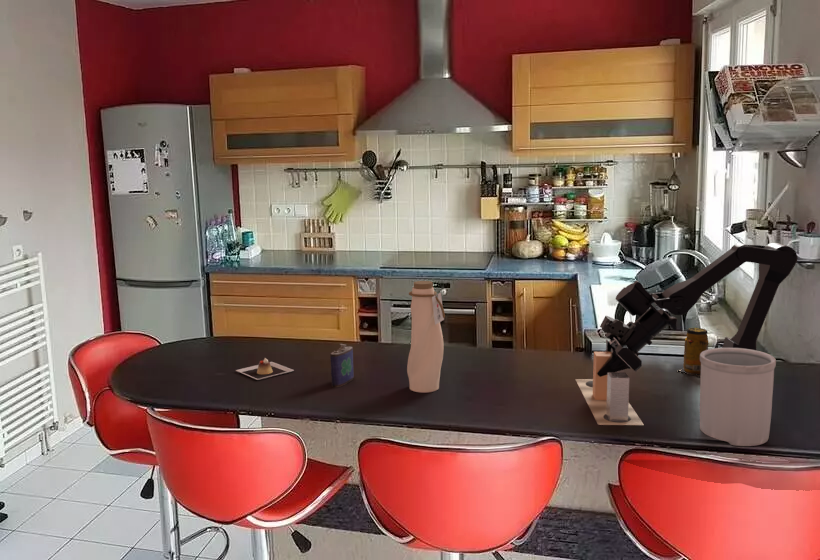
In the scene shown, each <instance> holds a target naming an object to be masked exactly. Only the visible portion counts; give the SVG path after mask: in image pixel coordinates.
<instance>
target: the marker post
mask: <svg viewBox="0 0 820 560" xmlns="http://www.w3.org/2000/svg"><path fill="white" fill-rule="evenodd" d="M610 356H611V352H605V351H593V367H592V369H593V373H592V374H593V375H592V379H593V396H594V399H595V400H607V376H608V375H604V376H601V377H600V376H599V375H598V374H597V373H598V371H599V370H600V369H601V368H602V366H603V365H604V364H605V363H606V362H607V360H608V359H609V358H610Z"/></svg>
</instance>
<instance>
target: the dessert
mask: <svg viewBox="0 0 820 560" xmlns="http://www.w3.org/2000/svg"><path fill="white" fill-rule="evenodd" d="M272 368H276V369H279V370H282V371H283V372H280V373H277V374H272V373H273V372H274V371H273V369H272ZM253 370H257V371H256V374H257V375H268V376H264V377H259V378H256V377H254V376H251V375H249V374H247V373H245V372H247V371H253ZM294 371H295V370H294V369H292V368H289V367H287V366H285V365H281V364H279V363H277V362H273V361H269V359H267V358H266V357H264V359H263V360H259V363H258V364H256V365H251V366H248V367H243V368H240V369H235V372H237V373H240V374H242V375H245V376H247V377H250V378H251V379H253V380H256V381H260V380H265V379H268V378H274V377H276V376H277V377H278V376H281V375H284V374H289V373H292V372H294ZM269 374H272V375H269Z"/></svg>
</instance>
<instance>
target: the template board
mask: <svg viewBox="0 0 820 560" xmlns="http://www.w3.org/2000/svg"><path fill="white" fill-rule="evenodd" d="M575 382H576V383H577V385H578V387H579V390H580V392H581V394H582V395H583V398H584V400H585V402H586V403H587V406H588V407H589V410H590V412H591V413H592V415H593V417H594V419H595V421H596V423H597V425H598V426H599V425H601V426H602V425H603V426H644V423H643V421H642V419H641V418H640V417H639V415H638V414H637V412H636V411H635V409H634V408H633V407H632V404H630V402H629V403H628V421H610V420H609V419H608V417H607V415H606V406H607V400H595V399H594V396H593V378H587V379H586V378H584V379H583V378H578V379H577V378H575Z"/></svg>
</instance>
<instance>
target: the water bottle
mask: <svg viewBox="0 0 820 560" xmlns="http://www.w3.org/2000/svg"><path fill="white" fill-rule="evenodd" d="M433 285H434V284H433V281H429V280H418V281H417V280H416V281H413V286H412V289H411V290H410V291H409V292H408V295H409V296H411V302H410V314H411V331H410V332H411V335H410V338H411V340H410V350H409V353H408V357H407V367H406V372H407V377H408V382H409V390H410V391H413V392H416V393H421V394H423V393H424V394H425V393H432V392H436V391H437V390H439V389H440V377H441V368H442V364H443V359H444V347H445V346H444V338H443V337H444V335H443V331H442V330H443V329H442V326H441V322H442V321H445V318H446V313H445V309H444V307H443V300H442V299H443V297H442V292H439V293H438V292H437V291H436V290H435V289H434V286H433Z"/></svg>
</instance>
